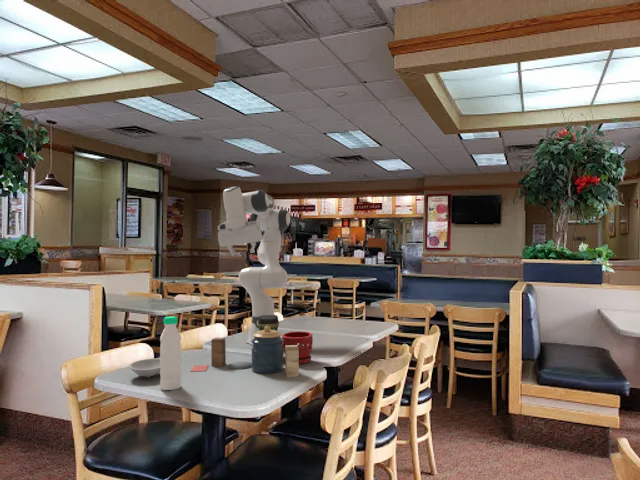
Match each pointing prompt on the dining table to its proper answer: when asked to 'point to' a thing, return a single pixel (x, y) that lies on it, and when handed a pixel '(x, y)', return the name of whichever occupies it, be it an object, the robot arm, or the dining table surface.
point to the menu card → (199, 368)
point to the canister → (267, 351)
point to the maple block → (292, 360)
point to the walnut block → (218, 351)
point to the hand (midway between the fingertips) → (243, 253)
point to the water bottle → (170, 355)
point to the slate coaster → (240, 365)
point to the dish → (146, 367)
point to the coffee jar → (268, 322)
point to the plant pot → (302, 339)
